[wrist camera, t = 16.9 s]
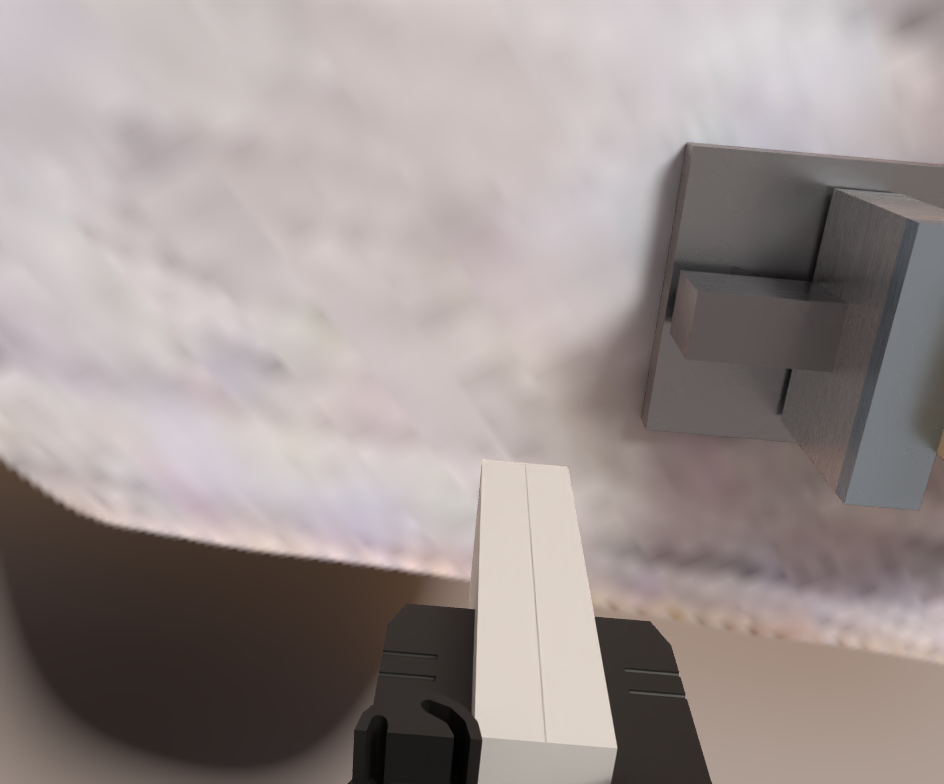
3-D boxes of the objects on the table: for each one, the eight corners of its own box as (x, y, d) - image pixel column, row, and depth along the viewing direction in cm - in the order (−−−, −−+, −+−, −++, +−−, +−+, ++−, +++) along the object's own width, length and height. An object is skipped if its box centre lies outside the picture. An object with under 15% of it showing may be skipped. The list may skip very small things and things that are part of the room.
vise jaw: (653, 409, 34) (688, 490, 28) (693, 175, 31) (743, 207, 25) (841, 425, 34) (918, 510, 28) (900, 194, 31) (1004, 230, 25)
